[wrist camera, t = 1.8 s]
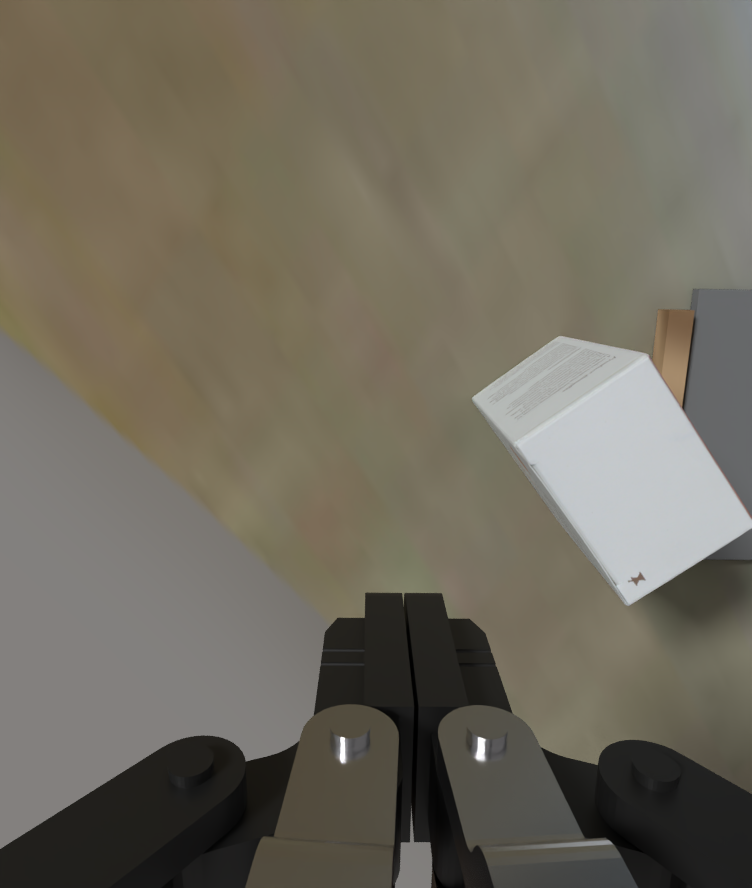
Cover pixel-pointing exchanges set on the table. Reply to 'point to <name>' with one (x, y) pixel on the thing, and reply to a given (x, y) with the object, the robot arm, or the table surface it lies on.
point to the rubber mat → (723, 392)
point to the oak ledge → (673, 348)
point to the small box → (615, 461)
